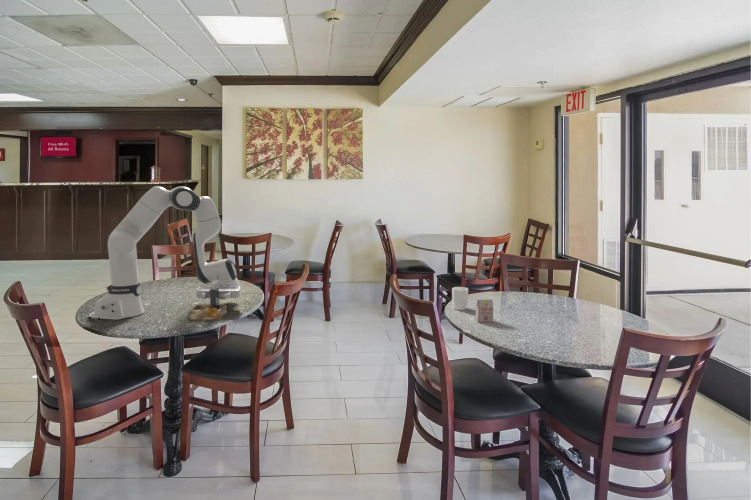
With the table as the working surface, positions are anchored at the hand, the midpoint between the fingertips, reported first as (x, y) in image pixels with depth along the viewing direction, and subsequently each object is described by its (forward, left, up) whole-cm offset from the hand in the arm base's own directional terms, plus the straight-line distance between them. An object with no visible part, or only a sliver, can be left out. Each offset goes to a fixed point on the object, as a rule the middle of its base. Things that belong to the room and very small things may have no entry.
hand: (214, 297), depth 210 cm
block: (0, +1, -8) cm, 8 cm away
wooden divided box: (-3, +1, -9) cm, 9 cm away
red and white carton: (+122, -9, -9) cm, 123 cm away
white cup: (+115, +11, -9) cm, 116 cm away
